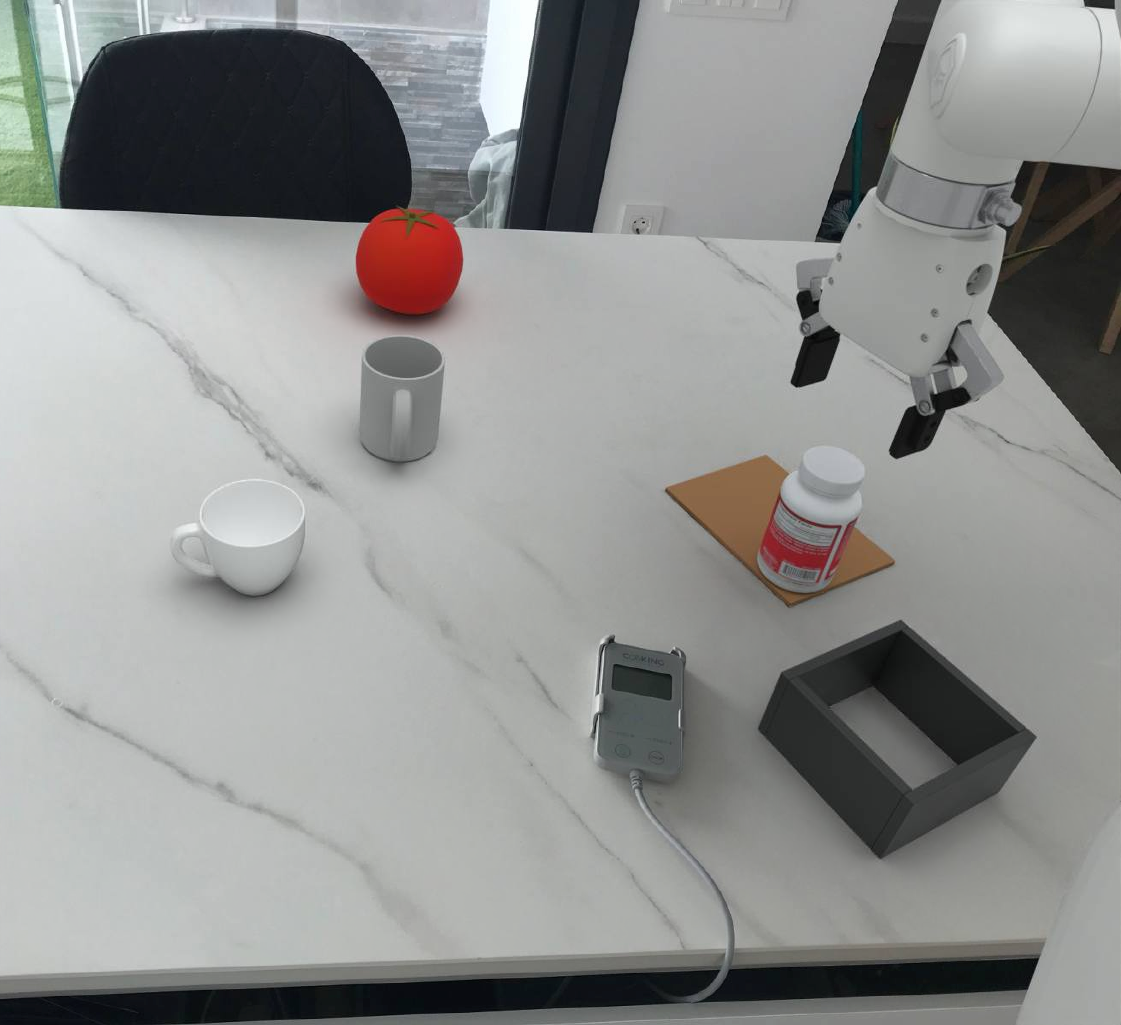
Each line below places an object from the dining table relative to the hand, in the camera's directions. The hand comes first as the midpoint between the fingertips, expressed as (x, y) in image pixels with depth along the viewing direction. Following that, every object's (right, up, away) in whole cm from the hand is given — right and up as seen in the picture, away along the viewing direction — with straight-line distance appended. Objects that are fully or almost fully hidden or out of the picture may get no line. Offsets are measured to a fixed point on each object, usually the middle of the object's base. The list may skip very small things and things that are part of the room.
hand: (854, 416), depth 78 cm
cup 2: (-34, -1, +20) cm, 39 cm away
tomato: (-34, +16, +40) cm, 55 cm away
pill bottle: (-1, -12, +10) cm, 16 cm away
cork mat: (-1, -8, +15) cm, 17 cm away
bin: (0, -24, -4) cm, 24 cm away
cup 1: (-46, -12, +5) cm, 48 cm away
